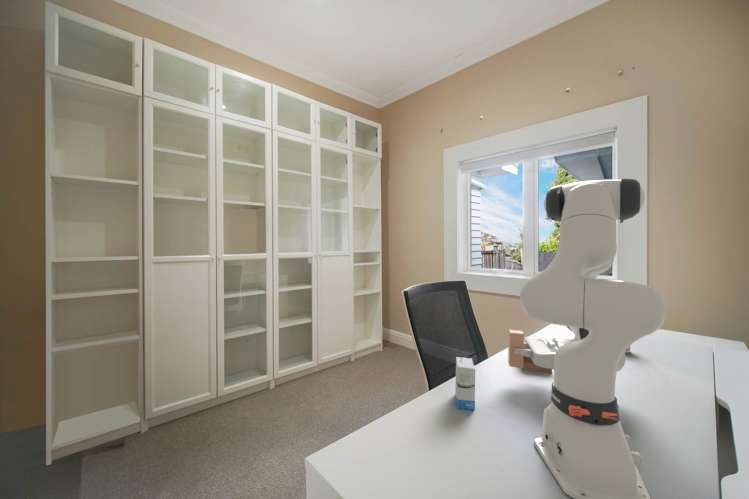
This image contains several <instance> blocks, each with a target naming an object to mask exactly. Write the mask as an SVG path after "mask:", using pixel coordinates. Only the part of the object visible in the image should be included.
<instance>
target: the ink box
mask: <svg viewBox="0 0 749 499" xmlns="http://www.w3.org/2000/svg"><path fill="white" fill-rule="evenodd" d="M454 390H455V391H454V393H455V394H454V396H455V401H456V407H457V409H459V410H460V409H461V410H470V411H475V409H476V406H475V405H476V367H475V365H474V361H473V358H470V357H469V358H468V357H461V356H456V357H455V389H454Z"/></svg>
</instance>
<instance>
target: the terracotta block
mask: <svg viewBox="0 0 749 499" xmlns="http://www.w3.org/2000/svg"><path fill="white" fill-rule="evenodd" d="M524 337H525V333H524V332H523V331H522V330H519V329H518V330H516V329H508V348H507V349H508V356H507V357H508V358H507V360H508V362H507V363H508V366H509V367H511V368H519V369H521V368H523V358H524V356H523V355H519V354H515V353H514V348H515V347H517V348H521V349H524Z"/></svg>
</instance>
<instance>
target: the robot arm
mask: <svg viewBox="0 0 749 499" xmlns="http://www.w3.org/2000/svg"><path fill="white" fill-rule="evenodd" d="M644 203H645V192H644V189H643V188H642V186H641V182H640V181H638V180H637V179H635V178H620V179H603V180H602V179H600V180H599V179H598V180H597V179H596V180H584V181H579V182H578V181H577V182H572V183H567V184H565V185H563V183H562V184H558V185H555V186H552V187H550V189H549V190H547V191H546V195H545V198H544V202H543V205H544V207H543V208H544V211H545V213H546V216H547V217H548V218H549V219H551V221H556V222H560V228H559V238H558V245H557V250H556V253H555V255H554V257H553V259H552V261H551V262H550V263H549V265H548V266H547V267H546V268H545V269H543V270H542V271H541V272H540V273H538V274H537V275H535V276H532V277H530V278H529V279H527V280H526V282H525V283H524V284H523V285H522V288H520V289H521V290H520V293H519V301H520V306H521V308H522V311H523V312H524V314H526V316H527V317H529V318H530V319H534V320H537V321H540V322H543V323H547V324H550V325H558V326H565V327H566V328H567V329H568V330H569V331H571V332H572V333H573V334H574V339H569V338H568V339H567V338H559V337H558V338H556V337H553V339H551V341H549V340H548V339H546V338H542V337H536V336H535V337H534V336H524V349H521V348H517V347H515V348H514V353H515V354H519V355H523V356H526V357H530V358H531V359H532V361H533V363H534V364H535V365H536V366H539V367H543V368H548V369H552V370H553V382H552V383H551V388H550V394H551V395H550V399H551V402H550V404H549V405H548V406H546V407H545V408H544V409H543V417H542V418H543V419H542V427H541V428H542V430H541V436H539V437H536V438H534V441H533V444H534V447H535V448H536V451H537V452H538V453H539V455H540V456H541V458H542V460H543V461H544V463H545V464H546V466H547V468H548V469H549V471H550V473H551V474H552V475H553V477H554V479H555V480H556V482H557V483H558V484H559V487H560V488H561V489H562V492H563V493H565V495H567V496H568V497H571V498H573V499H652V498H651V496H650V494H649V491H648V490H647V487H646V485H645V483H644V480H643V478H642V476H641V473H640V472H639V469H638V467H642V464H643V462H642V456H641V454H640V453H639V452H637V451H634V450H631V449H630V446H629V443H631V436H630V435H629V434H625V431H624V429H623V426H622V421H621V420H620V408H619V407H620V406H619V404H618V399H617V396H616V393H615V392H616V380H617V373H618V372H619V371H621V370H622V369H623V368H624V366H625V364H626V353H625V350H626V349H627V348H628V347H629V346H630V347H631V346H632V345H633V344H634V343H635V342H637V341H639V340H640V339H642V338H643V337H646V336H649V335H651V334H654V333H655V332H656V331H658V330H659V329H660V328H661V327H662V326H663V324H664V323H665V320H666V316H667V306H666V303H665V301H664V299H663V297H662V296H661V295H660V293H659V292H658V291H657V290H656V289H655V288H653V286H649V285H645V284H641V283H638V282H637V283H636V282H633V281H626V280H620V279H603V278H602V279H601V278H597V277H598V276H599V275H600V274H602V273H605V272H606V271H608V270H609V269H610V268H611V267H613V264H614V261H615V256H616V254H617V251H618V250H617V247H618V246H617V245H618V244H617V237H618V236H617V234H618V232H617V220H619V224H622V223H624V221H625V220H629V219H632V218H634V217H636V215H638V214H639V213H640V211H641V209H642V207H643V205H644Z"/></svg>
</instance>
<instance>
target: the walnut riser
mask: <svg viewBox="0 0 749 499" xmlns="http://www.w3.org/2000/svg"><path fill="white" fill-rule="evenodd" d="M520 369H521V370H524V369H525V370H526V371H532V372H540V373H551V374H552V373H553V369H548V368H543V367H539V366H536V365H535V364H534V363H533V361H532V359H531V358H530V357H526V356H524V358H523V368H520ZM525 370H524V371H525Z"/></svg>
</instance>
